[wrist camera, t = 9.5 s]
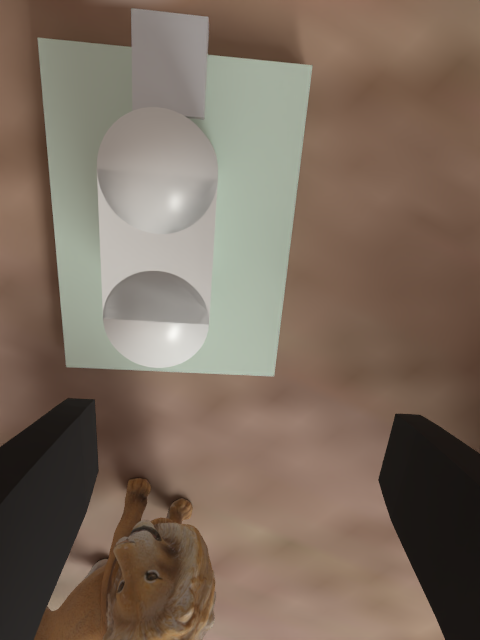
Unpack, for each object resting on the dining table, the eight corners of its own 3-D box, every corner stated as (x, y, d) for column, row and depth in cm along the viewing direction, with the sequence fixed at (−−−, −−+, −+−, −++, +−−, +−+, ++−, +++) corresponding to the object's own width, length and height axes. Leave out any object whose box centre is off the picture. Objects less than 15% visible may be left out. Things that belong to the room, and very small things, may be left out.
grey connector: (225, 45, 14) (229, -9, 9) (209, 311, 17) (206, 370, 13) (133, 35, 13) (88, -26, 9) (135, 307, 17) (104, 365, 12)
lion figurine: (161, 413, 20) (121, 596, 12) (242, 468, 22) (258, 665, 13) (2, 578, 24) (-114, 808, 16) (81, 616, 25) (15, 843, 17)
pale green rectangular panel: (306, 70, 15) (312, 65, 14) (271, 365, 19) (273, 376, 18) (49, 44, 14) (37, 37, 13) (73, 356, 19) (66, 367, 18)
